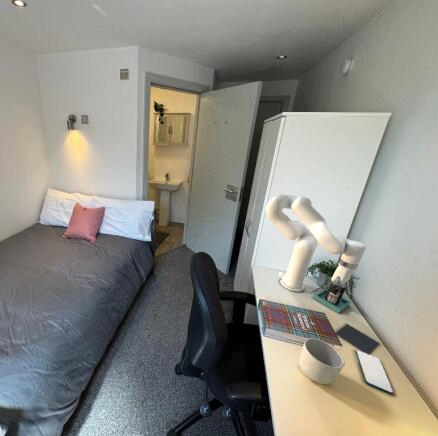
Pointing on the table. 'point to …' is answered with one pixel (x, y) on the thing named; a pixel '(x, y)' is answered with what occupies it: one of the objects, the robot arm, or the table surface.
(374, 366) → the smartphone
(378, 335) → the table surface
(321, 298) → the tray
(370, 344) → the mat
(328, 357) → the planter
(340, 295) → the beverage can
